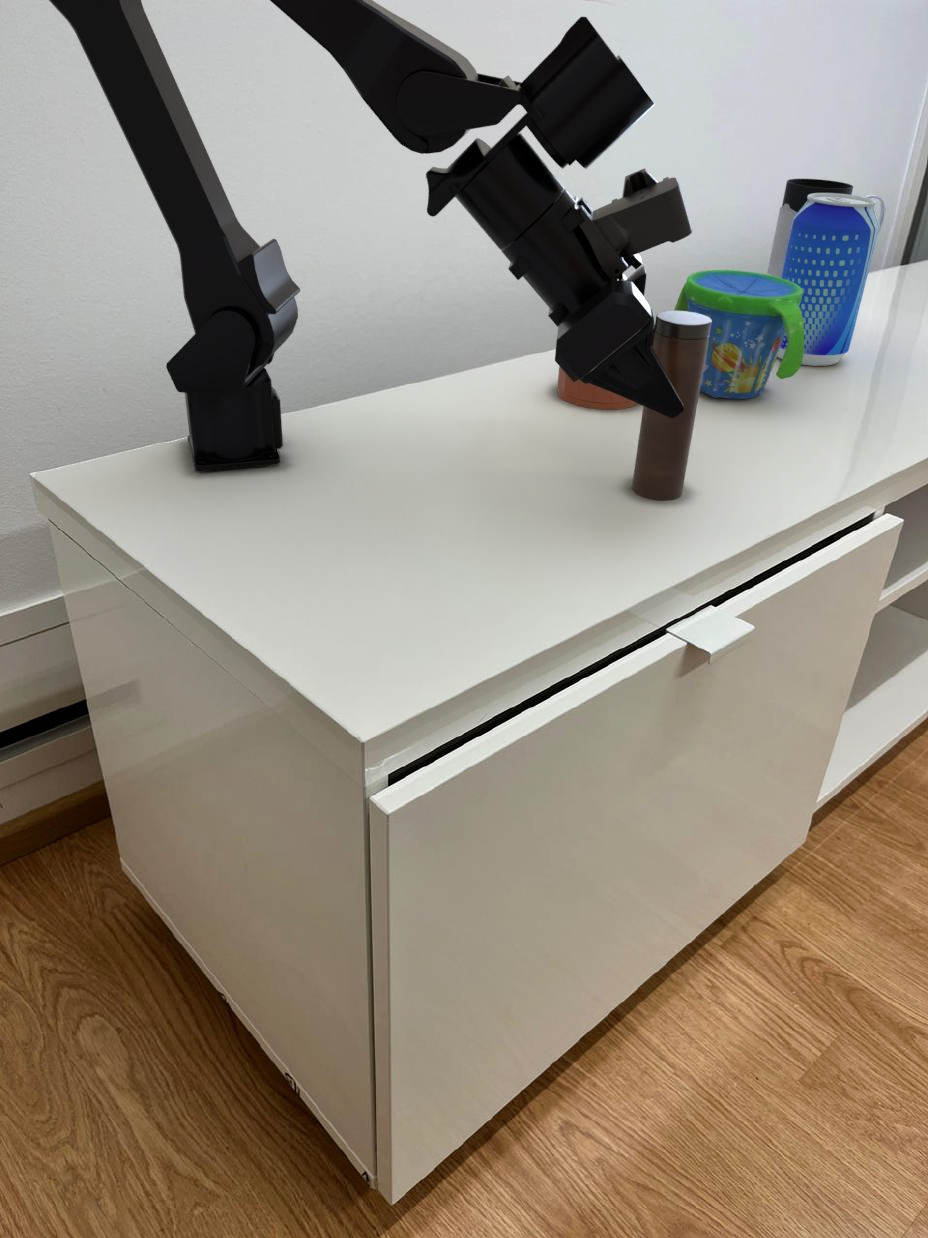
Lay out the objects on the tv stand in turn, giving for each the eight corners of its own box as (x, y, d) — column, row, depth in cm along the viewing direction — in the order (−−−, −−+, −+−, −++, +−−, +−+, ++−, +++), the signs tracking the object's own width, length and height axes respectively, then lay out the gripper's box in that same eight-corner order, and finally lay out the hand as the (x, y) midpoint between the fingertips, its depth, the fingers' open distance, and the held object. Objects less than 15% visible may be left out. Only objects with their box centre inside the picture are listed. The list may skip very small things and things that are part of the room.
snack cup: (820, 410, 92) (847, 299, 86) (727, 422, 88) (749, 306, 82) (721, 361, 104) (740, 261, 98) (636, 369, 100) (650, 265, 95)
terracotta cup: (577, 412, 88) (584, 346, 85) (544, 383, 95) (549, 321, 92) (656, 406, 91) (666, 341, 88) (618, 378, 97) (626, 317, 94)
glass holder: (742, 305, 124) (767, 177, 117) (839, 302, 128) (869, 177, 120) (779, 324, 117) (808, 189, 109) (880, 320, 121) (915, 189, 113)
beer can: (854, 354, 108) (894, 198, 99) (834, 373, 102) (875, 208, 93) (779, 340, 111) (811, 188, 103) (755, 357, 105) (787, 197, 97)
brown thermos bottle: (646, 502, 72) (673, 326, 66) (623, 482, 76) (646, 311, 69) (691, 497, 74) (722, 323, 67) (666, 477, 77) (694, 309, 70)
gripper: (633, 145, 54) (794, 357, 59) (625, 116, 70) (752, 285, 75) (485, 283, 59) (645, 468, 64) (509, 227, 75) (635, 378, 80)
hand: (674, 391), depth 70 cm, fingers open, 9 cm apart
